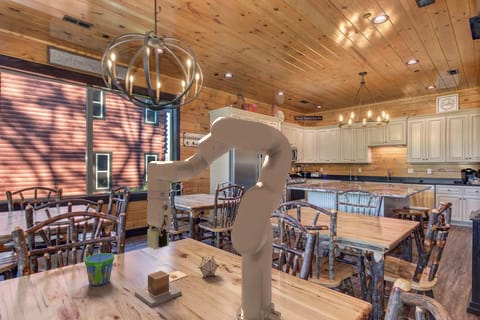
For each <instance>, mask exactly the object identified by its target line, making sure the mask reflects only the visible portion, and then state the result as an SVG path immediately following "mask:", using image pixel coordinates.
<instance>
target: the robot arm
mask: <svg viewBox="0 0 480 320" xmlns="http://www.w3.org/2000/svg"><path fill="white" fill-rule="evenodd" d="M197 149H198V151H196V152H195V153H194V154H192V155H191V156H190V157H188V158H187V159H185V160H169V161H158V160H157V161H150V162H148V164H147V207H146V223H147V226H148V230H149V229H154V228H158V229H159V235H160V236H158V247H163V248H165V247H164V246H167V235H168V232H169V233H170V230H171V228H172V208H171V201H170V184H171V183H178V182H179V183H180V182H186V181H190V180H193V179H194V178H196V177H197V176H199V175H200V174H202V173H203V172H204V171H206V170H207V169H209V168H210V166H211V165H212V164H213V163H214V162H215V161H216V160H217V159H219V158H221V157H222V156H224V155H226V154H227V153H230V151H232V150H233V149H241V150H246V151H249V152H253V153H259V154H260V153H261V154H264V155H265V156H264V157H265V158H264V161H263V163H262V166H261V168H260V171H259V175H258V179H257V182H256V184H255V185H253V186H251V187H250V188H248V189H247V190H246V191H245V192H244V193H243V195H242V197H241V200H240V202H239V206H238V209H237V212H236V215H235V219H234V222H233V226H232V230H231V233H230V234H231V235H230V240H231V245H232V248H233V249H234V250H235V251H236V252H237V253H238V254H240V255H241V297H240V299H241V301H240V302H241V304H240V306H238V308H237V309H236V319H237V320H281V316H282V312H279V310H278V311H277V310H276V309H275V303H274V302H272V301H273V299H272V296H273V295H272V293H273V291H272V290H273V289H272V287H273V286H272V284H273V283H272V282H273V281H272V276H273V272H272V271H273V270H272V268H273V266H272V265H273V264H272V263H273V245H274V227H273V224H272V222H271V217H272V215H273V214H274V213H275V212H276V211H277V210H278V209H279V207H280V205H281V201H282V199H283V194H284V192H285V187H286V184H287V181H288V177H289V173H290V169H291V168H292V167H291V166H292V161H293V150H292V149H293V148H292V145H291V143H290V141H289V139H288V138H287V137H286V135H285V134H284V133H283V132H282V131H280V130H279V129H278V128H276V127H275V126H272V125H270V124H267V123H264V122H260V121H254V120H248V119H243V118H242V119H241V118H236V117H232V116H228V115H225V116H220V117H217V119H215V120H214V121H213V123H212V124H211V126H210V133H209V134H207V135H205V136H204V137H202V138H201V139H200V140H199V141H198V142H197ZM163 228H164V229H163ZM162 229H163V231H162ZM167 247H168V246H167Z"/></svg>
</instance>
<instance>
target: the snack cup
mask: <svg viewBox="0 0 480 320" xmlns="http://www.w3.org/2000/svg"><path fill="white" fill-rule="evenodd" d="M114 261H115V255H114V254H113V253H109V252H102V253H96V254H91V255H89V256H87V257H85V258H84V265H85V266H86V274H87V279H88V284H89V286H94V287H100V286H105V285H106V284H108V283H109V282H110V280H111V277H112V271H113V263H114Z"/></svg>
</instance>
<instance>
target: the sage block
mask: <svg viewBox="0 0 480 320" xmlns="http://www.w3.org/2000/svg"><path fill="white" fill-rule="evenodd" d="M163 229H164V228H163ZM163 229H162V231H163ZM146 234H147V247H149V248H151V249H152V250H159V249H162V248H163V249H164V248H167V247H169V246H170V231H169V232H168V235H167V246H164V247H158V236H160V235H159V229H158V228H154V229H149V228H148V229H147V233H146Z"/></svg>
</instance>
